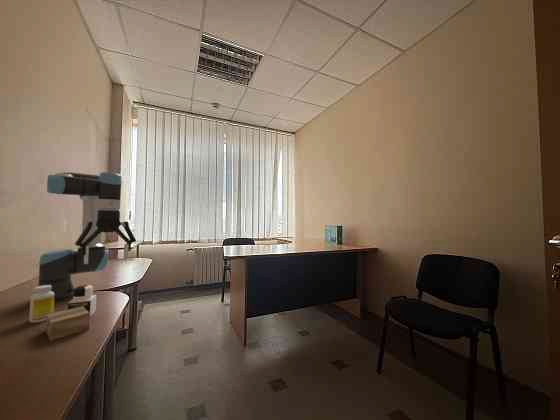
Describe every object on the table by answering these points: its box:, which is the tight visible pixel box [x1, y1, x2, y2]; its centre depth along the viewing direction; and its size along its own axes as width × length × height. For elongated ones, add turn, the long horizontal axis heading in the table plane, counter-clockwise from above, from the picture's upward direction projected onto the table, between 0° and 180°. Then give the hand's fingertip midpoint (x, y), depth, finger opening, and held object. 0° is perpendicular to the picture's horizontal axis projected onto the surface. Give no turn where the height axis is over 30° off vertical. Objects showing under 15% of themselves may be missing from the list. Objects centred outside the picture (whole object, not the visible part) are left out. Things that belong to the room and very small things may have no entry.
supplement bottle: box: [28, 285, 55, 324], centre depth 89 cm, size 7×7×13 cm
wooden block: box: [45, 306, 91, 341], centre depth 81 cm, size 10×10×6 cm
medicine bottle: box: [67, 284, 97, 318], centre depth 93 cm, size 7×7×12 cm
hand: (106, 261), depth 94 cm, fingers open, 13 cm apart
